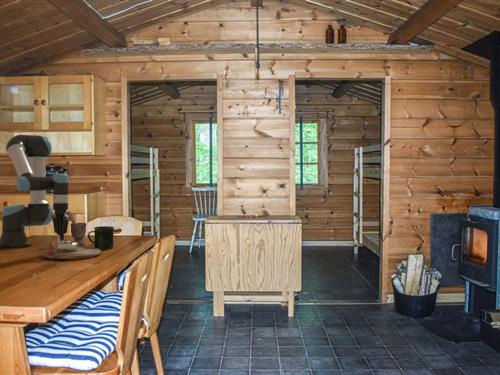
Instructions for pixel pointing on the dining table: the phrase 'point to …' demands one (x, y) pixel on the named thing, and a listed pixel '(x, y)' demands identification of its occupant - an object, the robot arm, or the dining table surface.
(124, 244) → the dining table surface
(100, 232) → the mug
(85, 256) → the turntable
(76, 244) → the cover
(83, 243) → the mortar and pestle
